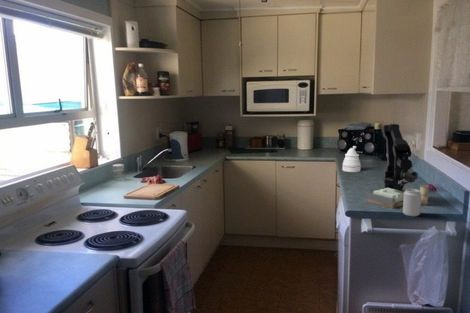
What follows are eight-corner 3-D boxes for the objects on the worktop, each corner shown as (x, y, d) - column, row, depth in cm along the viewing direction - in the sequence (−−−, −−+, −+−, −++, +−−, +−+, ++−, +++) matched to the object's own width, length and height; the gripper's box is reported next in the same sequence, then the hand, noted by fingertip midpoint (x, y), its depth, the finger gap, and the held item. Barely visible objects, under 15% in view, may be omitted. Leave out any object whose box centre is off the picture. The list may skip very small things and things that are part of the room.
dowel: (422, 203, 195) (423, 184, 194) (429, 204, 192) (430, 185, 190) (417, 204, 193) (418, 185, 192) (424, 206, 190) (425, 186, 188)
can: (415, 211, 182) (416, 187, 180) (423, 216, 174) (424, 191, 172) (399, 212, 181) (401, 188, 179) (407, 217, 174) (408, 192, 172)
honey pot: (358, 168, 286) (358, 145, 283) (362, 171, 273) (362, 147, 270) (341, 168, 287) (341, 145, 284) (344, 172, 275) (344, 147, 272)
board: (390, 195, 211) (390, 187, 211) (416, 201, 198) (417, 193, 197) (366, 201, 201) (366, 192, 200) (392, 208, 188) (392, 199, 187)
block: (387, 194, 206) (387, 187, 206) (406, 199, 197) (406, 192, 196) (373, 198, 200) (373, 191, 200) (392, 203, 191) (392, 195, 190)
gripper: (403, 171, 188) (401, 201, 191) (425, 166, 198) (423, 195, 200) (383, 167, 197) (382, 196, 200) (405, 163, 207) (404, 191, 210)
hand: (398, 194), depth 202 cm, fingers closed
